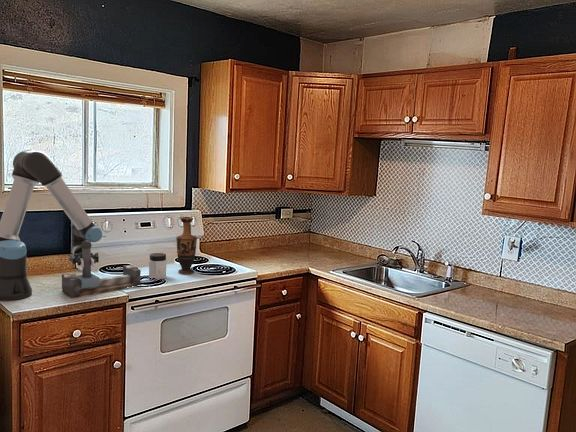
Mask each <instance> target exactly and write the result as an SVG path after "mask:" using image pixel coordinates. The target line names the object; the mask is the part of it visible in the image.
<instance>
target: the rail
mask: <svg viewBox="0 0 576 432" xmlns="http://www.w3.org/2000/svg"><path fill="white" fill-rule="evenodd" d="M122 273H123V274H122V275H117V276H110V277H103V278H100V282H99V286H94V287H88V288H82V289H81V288H80V283H79V279H78V278H76V276H77V274H76V273H63V274H61V292H62V293H64V294H65V295H66V296H68V297H70V298H71V299H74V298H81V297H86V296H92V295H97V294H104V293H109V292H114V291H120V290H124V289H123V288H127V287H132V286H137V285H140V286H141V269H139V268H138V266H137V265H132V264H131V265H130V264H126V265H123V266H122ZM127 289H128V288H127Z"/></svg>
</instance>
